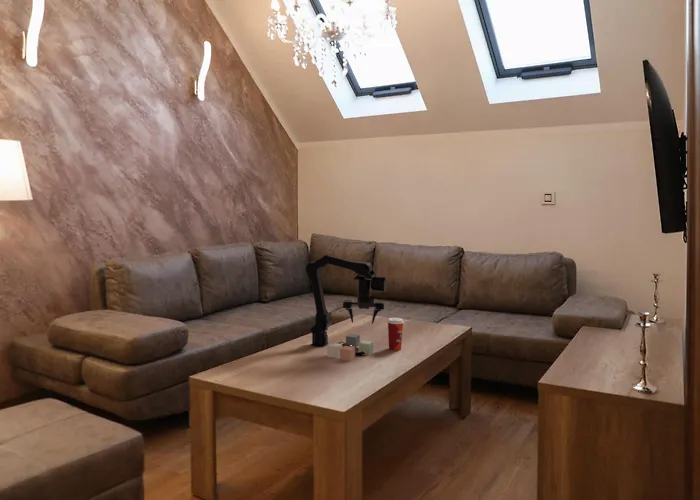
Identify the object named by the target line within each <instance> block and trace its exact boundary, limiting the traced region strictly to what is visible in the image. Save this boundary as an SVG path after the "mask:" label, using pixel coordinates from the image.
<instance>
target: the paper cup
mask: <svg viewBox="0 0 700 500" xmlns="http://www.w3.org/2000/svg"><path fill="white" fill-rule="evenodd" d="M404 323H405V321H404V319H403V318H401V317H390V318H388V319H387V332H388V335H387V336H388V350H390V351H394V352H395V351H400V350H402V343H403V331H404V330H403V329H404Z"/></svg>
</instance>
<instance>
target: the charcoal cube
mask: <svg viewBox="0 0 700 500" xmlns="http://www.w3.org/2000/svg"><path fill="white" fill-rule="evenodd" d="M360 338H361V337H360V334H354V333H349V334H347V335H346V336H345V344H346V343H347V344H349V345H352V346H355V347H356V348H357V347H359V343H360V342H361V339H360Z"/></svg>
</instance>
